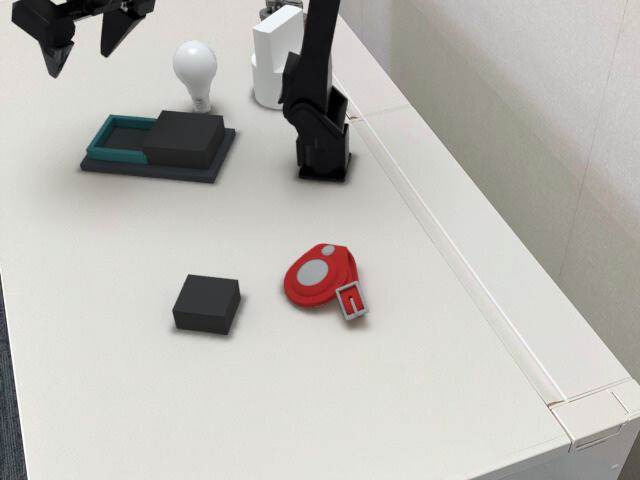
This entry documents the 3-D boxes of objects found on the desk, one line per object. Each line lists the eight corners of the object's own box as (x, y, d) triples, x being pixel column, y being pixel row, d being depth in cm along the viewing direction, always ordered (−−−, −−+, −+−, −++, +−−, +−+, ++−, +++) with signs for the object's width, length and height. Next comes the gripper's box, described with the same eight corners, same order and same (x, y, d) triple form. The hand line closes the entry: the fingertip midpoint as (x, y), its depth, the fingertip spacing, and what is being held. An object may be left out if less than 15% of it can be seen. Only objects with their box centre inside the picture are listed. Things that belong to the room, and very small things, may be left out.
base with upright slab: (276, 73, 125) (270, -1, 116) (323, 88, 121) (321, 13, 112) (243, 99, 119) (234, 23, 110) (291, 115, 116) (286, 38, 107)
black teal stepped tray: (235, 134, 113) (232, 110, 110) (213, 183, 105) (208, 158, 102) (112, 123, 115) (106, 99, 112) (81, 170, 107) (73, 145, 104)
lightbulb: (221, 124, 115) (210, 54, 107) (178, 123, 115) (164, 53, 107) (226, 101, 119) (216, 32, 111) (185, 100, 119) (172, 32, 111)
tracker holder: (266, 295, 89) (302, 229, 93) (281, 317, 93) (315, 252, 97) (357, 311, 83) (391, 240, 87) (369, 334, 87) (402, 265, 91)
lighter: (260, 59, 128) (254, -1, 120) (267, 50, 130) (262, -10, 122) (306, 66, 126) (303, 5, 118) (312, 56, 128) (310, -4, 121)
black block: (241, 298, 91) (238, 279, 88) (227, 335, 87) (224, 316, 84) (192, 292, 91) (187, 273, 89) (176, 328, 87) (171, 310, 85)
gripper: (99, -102, 95) (82, 13, 106) (-24, -78, 82) (-28, 49, 93) (169, -51, 94) (145, 59, 105) (56, -19, 81) (43, 102, 92)
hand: (79, 65), depth 99 cm, fingers open, 9 cm apart
